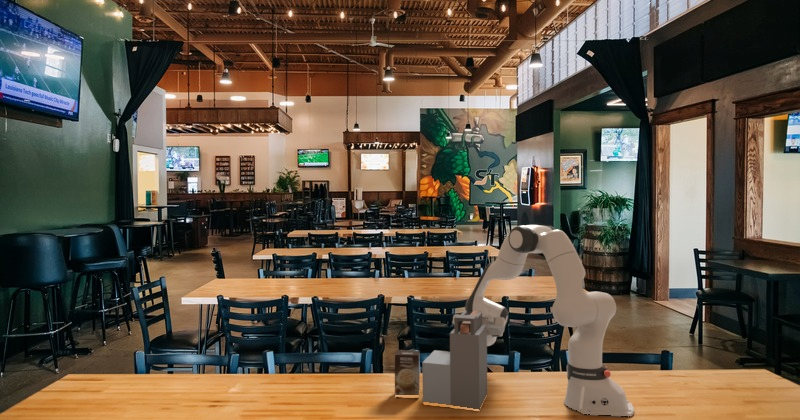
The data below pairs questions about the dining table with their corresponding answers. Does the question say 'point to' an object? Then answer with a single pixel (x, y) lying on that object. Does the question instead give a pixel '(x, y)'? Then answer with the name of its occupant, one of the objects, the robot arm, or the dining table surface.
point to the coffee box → (407, 372)
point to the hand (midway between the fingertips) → (475, 315)
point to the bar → (467, 324)
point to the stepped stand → (459, 367)
